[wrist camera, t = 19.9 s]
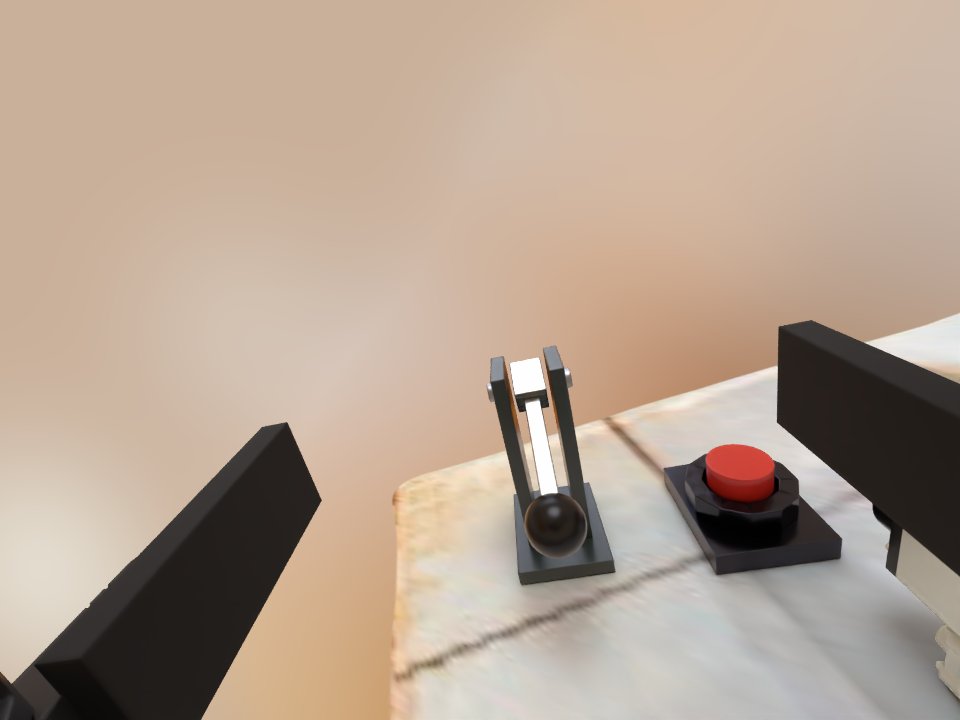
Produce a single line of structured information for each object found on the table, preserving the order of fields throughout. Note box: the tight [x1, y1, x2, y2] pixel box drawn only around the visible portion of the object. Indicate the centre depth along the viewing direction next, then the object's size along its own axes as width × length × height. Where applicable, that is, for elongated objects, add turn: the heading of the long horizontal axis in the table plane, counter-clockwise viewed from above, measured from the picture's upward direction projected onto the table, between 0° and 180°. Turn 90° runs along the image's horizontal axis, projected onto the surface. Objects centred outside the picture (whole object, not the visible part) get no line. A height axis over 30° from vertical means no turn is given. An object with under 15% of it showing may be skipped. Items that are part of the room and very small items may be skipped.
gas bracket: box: [487, 346, 615, 585], centre depth 34 cm, size 9×7×16 cm
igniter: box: [706, 444, 775, 502], centre depth 33 cm, size 4×4×2 cm
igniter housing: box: [664, 454, 842, 575], centre depth 34 cm, size 10×8×4 cm
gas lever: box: [510, 358, 587, 559], centre depth 29 cm, size 13×4×4 cm, turn 179°
